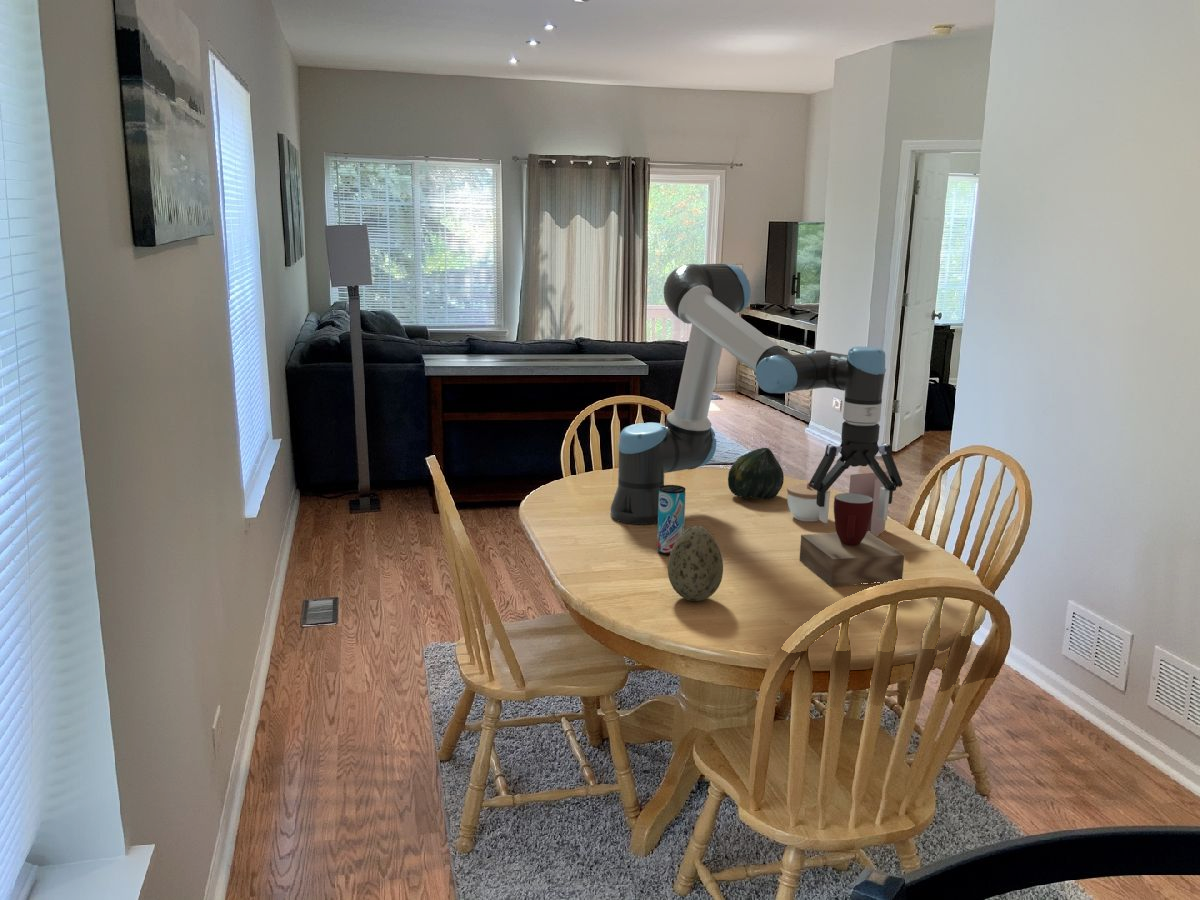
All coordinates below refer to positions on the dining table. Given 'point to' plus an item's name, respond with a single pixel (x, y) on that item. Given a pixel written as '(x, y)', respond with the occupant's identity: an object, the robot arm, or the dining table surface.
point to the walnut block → (850, 559)
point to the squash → (756, 475)
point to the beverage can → (670, 516)
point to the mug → (852, 517)
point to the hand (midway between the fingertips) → (852, 519)
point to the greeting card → (869, 487)
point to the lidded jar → (803, 502)
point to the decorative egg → (695, 564)
